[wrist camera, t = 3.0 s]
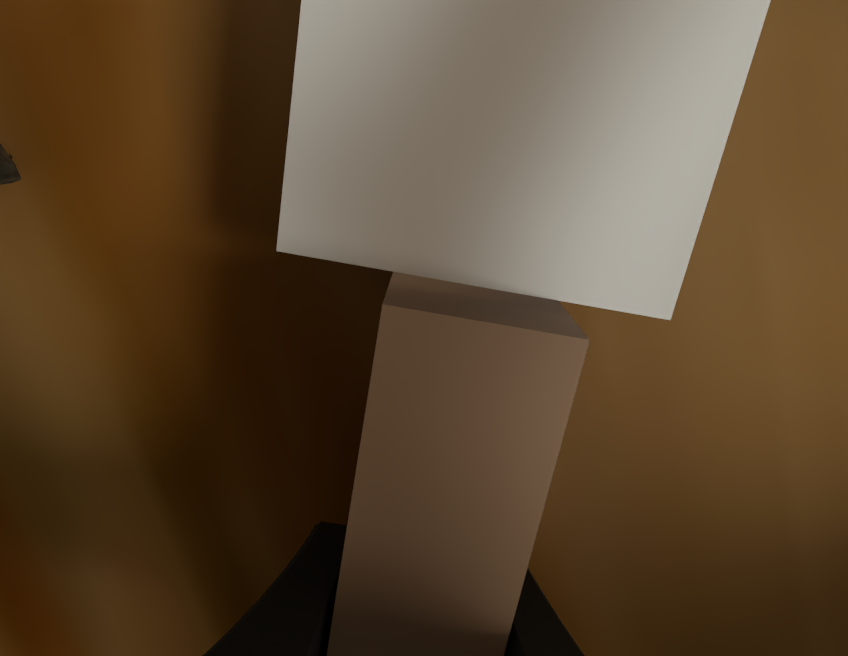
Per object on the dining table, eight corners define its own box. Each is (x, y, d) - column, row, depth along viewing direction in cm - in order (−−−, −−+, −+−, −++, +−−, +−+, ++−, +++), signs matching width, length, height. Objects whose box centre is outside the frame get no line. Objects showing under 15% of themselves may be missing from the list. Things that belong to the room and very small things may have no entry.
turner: (712, -11, 9) (903, -122, 6) (492, 756, 14) (514, 978, 10) (341, -84, 9) (276, -250, 5) (249, 721, 14) (181, 934, 10)
